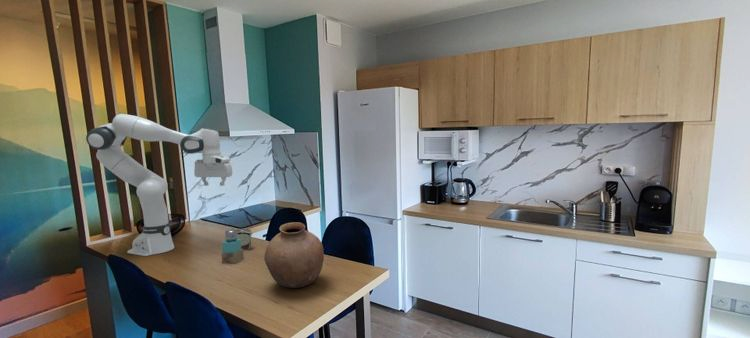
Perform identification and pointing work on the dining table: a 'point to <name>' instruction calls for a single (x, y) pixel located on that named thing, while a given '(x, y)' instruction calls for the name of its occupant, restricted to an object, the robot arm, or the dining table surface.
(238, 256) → the walnut base block
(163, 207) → the robot arm
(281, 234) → the pottery
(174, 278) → the dining table surface
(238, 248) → the teal middle block
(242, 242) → the food container
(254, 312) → the dining table surface
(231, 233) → the metal cylinder
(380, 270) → the dining table surface
